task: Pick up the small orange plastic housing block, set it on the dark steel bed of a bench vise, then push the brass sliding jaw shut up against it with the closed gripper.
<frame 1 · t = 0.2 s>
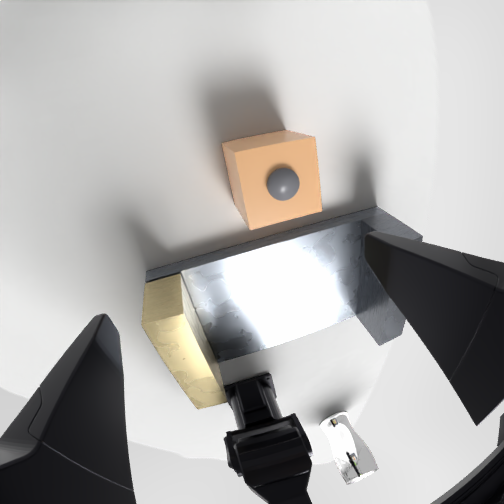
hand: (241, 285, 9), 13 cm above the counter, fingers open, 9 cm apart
vise bed: (280, 289, 27), on the counter
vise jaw: (188, 350, 22), point 4 cm above the counter, slide at 0.0 cm
beer glass: (333, 418, 48), on the counter
housing block: (259, 166, 21), on the counter
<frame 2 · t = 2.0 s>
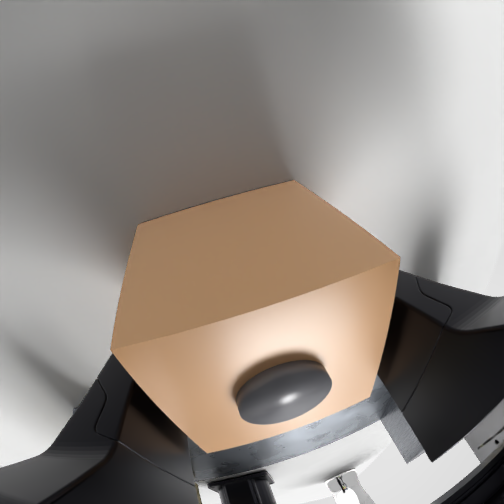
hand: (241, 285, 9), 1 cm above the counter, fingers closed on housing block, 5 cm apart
vise bed: (277, 417, 16), on the counter
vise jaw: (149, 499, 11), point 4 cm above the counter, slide at 0.0 cm
beer glass: (339, 475, 37), on the counter
housing block: (234, 268, 10), on the counter, touching gripper
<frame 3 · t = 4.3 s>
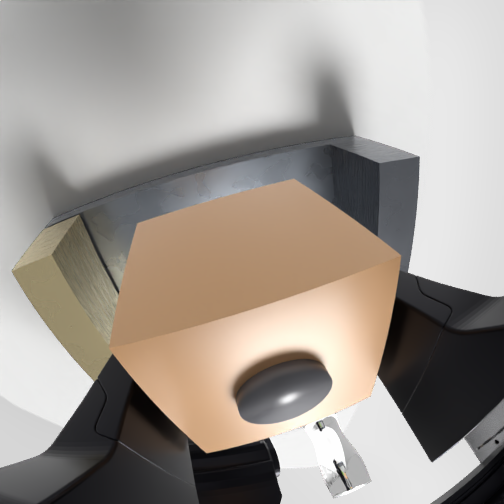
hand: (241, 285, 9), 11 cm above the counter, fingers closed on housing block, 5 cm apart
vise bed: (223, 246, 20), on the counter
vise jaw: (93, 320, 15), point 4 cm above the counter, slide at 0.0 cm
beer glass: (319, 420, 42), on the counter
housing block: (234, 267, 10), point 10 cm above the counter, touching gripper
when the fingers open (3 cm above the counter, at t = 6.5 s): housing block stays where it is, resting on vise bed.
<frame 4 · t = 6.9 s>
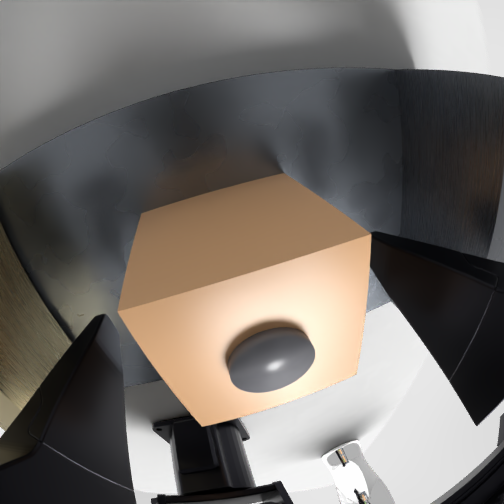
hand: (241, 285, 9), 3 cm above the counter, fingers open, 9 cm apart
vise bed: (223, 236, 12), on the counter
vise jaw: (10, 358, 7), point 4 cm above the counter, slide at 0.0 cm
beer glass: (339, 448, 33), on the counter
housing block: (229, 254, 10), point 1 cm above the counter, touching vise bed
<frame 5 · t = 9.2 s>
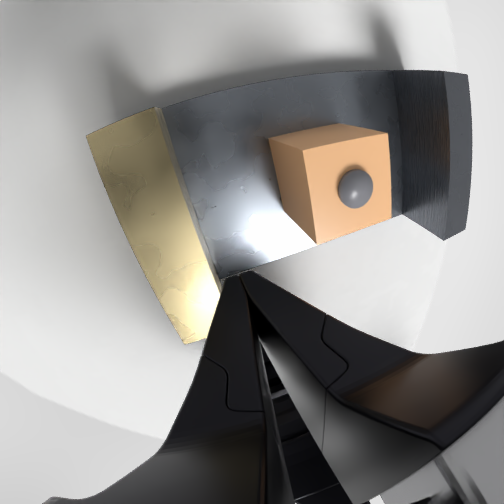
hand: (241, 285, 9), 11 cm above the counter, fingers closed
vise bed: (302, 161, 19), on the counter
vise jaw: (167, 227, 14), point 4 cm above the counter, slide at 0.0 cm
housing block: (311, 166, 18), point 1 cm above the counter, touching vise bed
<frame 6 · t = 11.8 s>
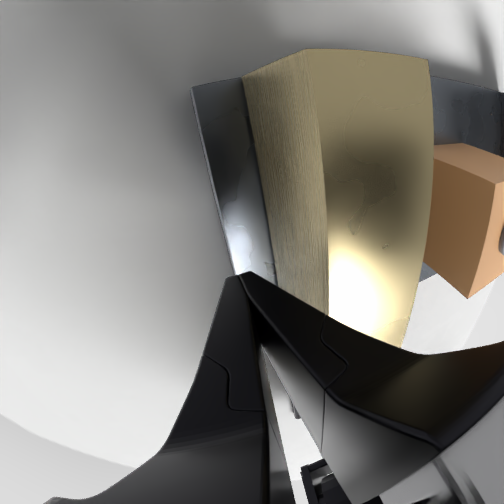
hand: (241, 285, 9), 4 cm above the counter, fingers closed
vise bed: (417, 181, 13), on the counter
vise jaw: (336, 259, 9), point 4 cm above the counter, slide at 1.6 cm, touching gripper
housing block: (435, 190, 12), point 1 cm above the counter, touching vise bed
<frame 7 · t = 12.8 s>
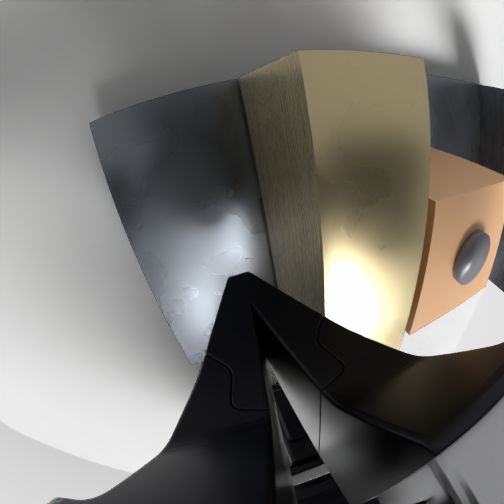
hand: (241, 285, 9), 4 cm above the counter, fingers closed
vise bed: (370, 192, 13), on the counter
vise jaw: (334, 259, 9), point 4 cm above the counter, slide at 5.0 cm, touching gripper
housing block: (388, 203, 12), point 1 cm above the counter, touching vise bed
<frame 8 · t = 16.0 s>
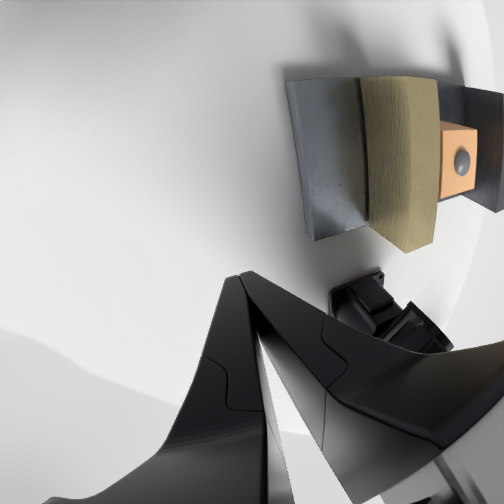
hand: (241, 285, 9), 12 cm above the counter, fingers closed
vise bed: (406, 143, 21), on the counter
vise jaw: (402, 160, 17), point 4 cm above the counter, slide at 5.0 cm
housing block: (417, 147, 20), point 1 cm above the counter, touching vise bed
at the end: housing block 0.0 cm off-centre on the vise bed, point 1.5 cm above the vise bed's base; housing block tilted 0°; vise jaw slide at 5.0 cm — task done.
